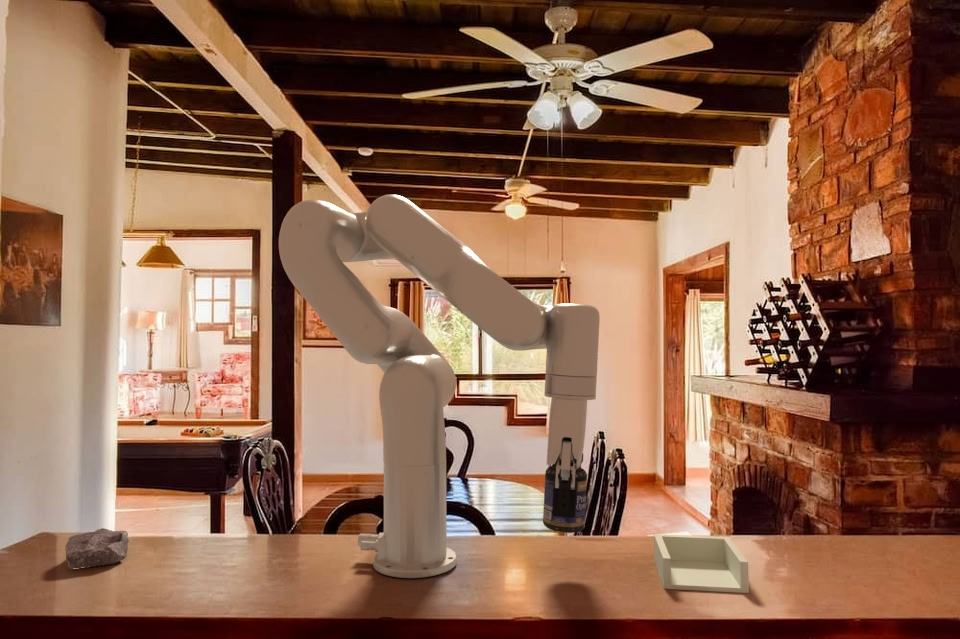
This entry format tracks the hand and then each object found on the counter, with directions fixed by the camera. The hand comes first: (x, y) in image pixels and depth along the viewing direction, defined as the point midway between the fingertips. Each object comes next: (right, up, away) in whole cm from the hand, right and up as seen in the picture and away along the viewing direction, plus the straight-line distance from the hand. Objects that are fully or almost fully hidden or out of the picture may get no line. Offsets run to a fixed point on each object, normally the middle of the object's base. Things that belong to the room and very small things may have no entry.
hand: (564, 508), depth 94 cm
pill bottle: (0, -3, 0) cm, 3 cm away
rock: (-72, -10, +6) cm, 73 cm away
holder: (+19, -9, -2) cm, 21 cm away
